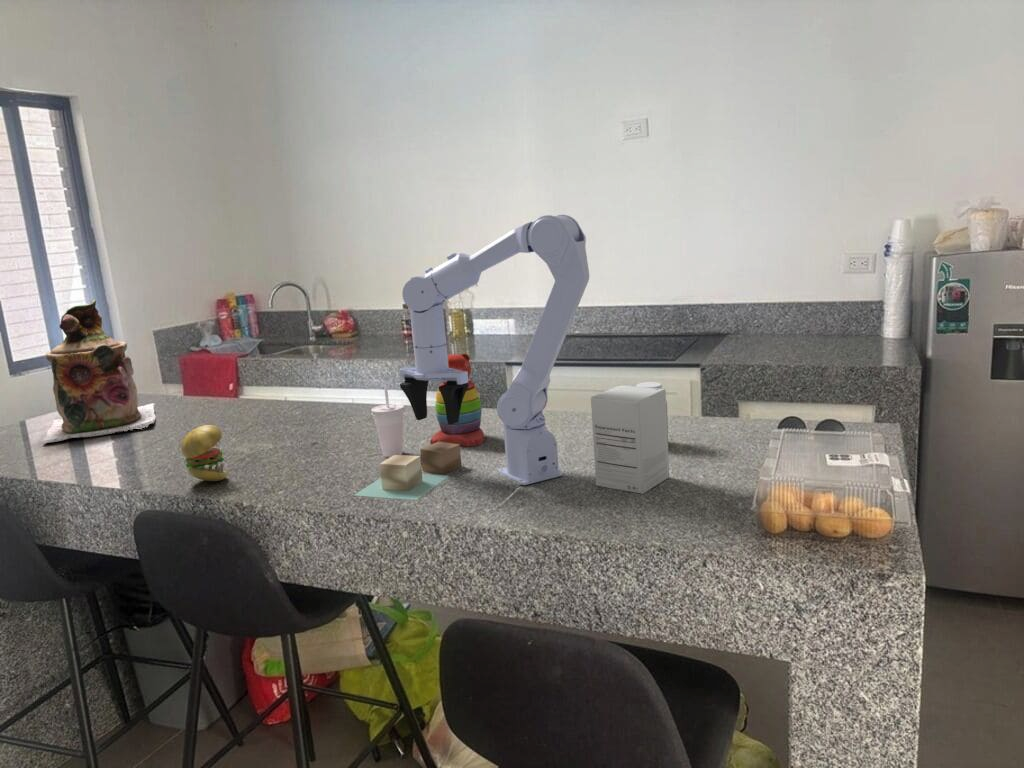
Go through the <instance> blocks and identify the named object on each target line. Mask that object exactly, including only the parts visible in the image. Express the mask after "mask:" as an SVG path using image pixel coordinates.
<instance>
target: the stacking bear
mask: <svg viewBox="0 0 1024 768" xmlns="http://www.w3.org/2000/svg"><path fill="white" fill-rule="evenodd" d="M447 356H448V367H449V368H452V369H456V370H460V371H467V372H468V384H469V386H468V388H467V390H466V392H465V395H464V398H463V401H462V404H461V409H460V415H459V422H457V423H454V424H448V421H447V417H446V409H445V404H444V400H443V397H442V395H441V392H440V390H439V386H442V385H445V384H447V382H441V383H440V384H439V386H438V387H437V391H436V397H435V398H436V399H435V400H436V401H435V404H434V405H435V416H436V419H437V422H438V424H439V427H440V430H439V431H437V432H436V433H434V435H433V436H432V437H431V438H430V440H429V441H430V442H429V443H430V445H432V444H434V443H437V442H445V443H452V444H459V445H460V446H463V447H476V446H480V445H482V444H483V442H484V441H485V433H484V431H483V430H482V428H481V423H482V402H481V398H480V396H479V392H478V389H477V387H476V386H475V384H474V382H473V381H472V380H470V376H471V370H472V368H471V366H472V365H471V363H470V355H468V353H462V354H456V353H455V354H447Z"/></svg>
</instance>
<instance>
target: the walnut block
mask: <svg viewBox="0 0 1024 768" xmlns="http://www.w3.org/2000/svg"><path fill="white" fill-rule="evenodd" d="M419 450H420V460H421V470H422V472H427V473H430V474H431V473H434V474H436V475H447V474H448V473H450V472H452V471H454V470H457V469H459V468H460V467H462V455H461V445H459V444H452V443H445V442H437V443H434V444H432V445H431V444H430V445H427V446H424V447H421V448H420V449H419Z"/></svg>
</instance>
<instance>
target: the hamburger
mask: <svg viewBox="0 0 1024 768" xmlns="http://www.w3.org/2000/svg"><path fill="white" fill-rule="evenodd" d="M185 425H186V426H187V427H188V428H189V429H190V431H189V432H188V433H187V434H186V435H185V437H184V438H183V439H182V442H181V445H180V450H181V454H182V455H183V456H184V462H185V463H186V464H185V466H186V468H187V470H188V473H189V475H190V476H191V477H194V478H196V479H198V480H200V481H208V482H218V481H219V482H220V481H223V480H225V479H226V477H227V476H228V472H227V470H224V464H223V462H224V461H225V458H224V457H223V454H224V450H223V449H221V448H220V447H219V445H218V443H219V444H221V439H223V438H222V437H223V431H222V429H220V428H219V427H217V425H212V424H205V425H204V424H203V425H200V426H198V427H196V428H194V429H191V426H190V424H189V423H188V422H187V421H186V423H185ZM219 463H220V465H219ZM214 466H215V467H214Z"/></svg>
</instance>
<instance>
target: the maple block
mask: <svg viewBox="0 0 1024 768" xmlns="http://www.w3.org/2000/svg"><path fill="white" fill-rule="evenodd" d="M379 471H380V472H379V473H380V478H381V482H382V489H384V490H399V491H409V490H411V489H412V488H414V487H415V486H416V485H418V484H419V483H421V482H422V481H423V480H422V474H423V471H422V462H421V455H405V454H402V455H393V456H392V457H387V459H385V460H383V461H382V462H380V463H379Z"/></svg>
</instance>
